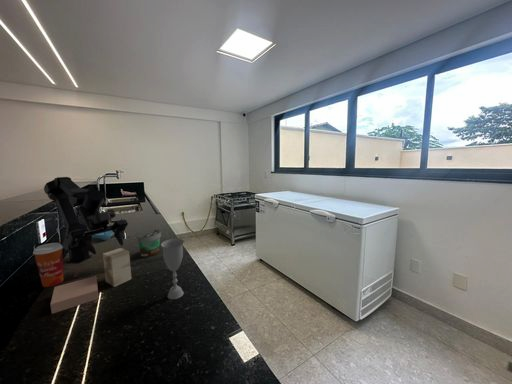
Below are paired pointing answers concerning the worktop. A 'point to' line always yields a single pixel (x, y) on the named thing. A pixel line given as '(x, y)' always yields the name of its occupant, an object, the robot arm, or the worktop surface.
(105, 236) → the soap dispenser
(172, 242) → the chalice
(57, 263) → the paper cup
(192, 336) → the worktop surface
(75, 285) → the plinth
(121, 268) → the pillar
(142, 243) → the food container
